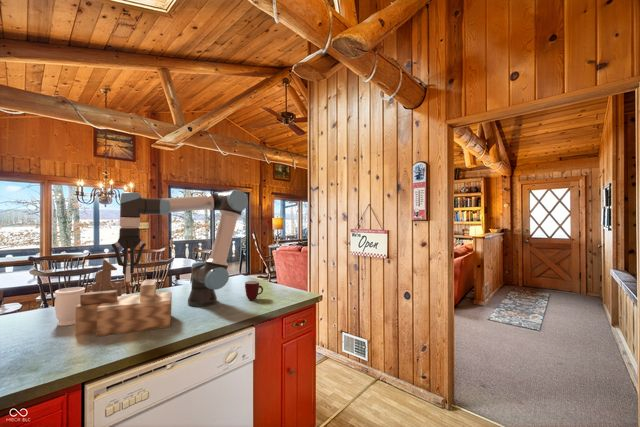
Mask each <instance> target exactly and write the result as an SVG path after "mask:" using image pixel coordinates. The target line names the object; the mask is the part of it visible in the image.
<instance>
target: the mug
mask: <svg viewBox="0 0 640 427" xmlns="http://www.w3.org/2000/svg"><path fill="white" fill-rule="evenodd" d="M244 287H245V288H244V289H245V293H246V294H245V295H246V298H247V299H249V301H254V299H255V300H257V297H258V296H259V295H261V294H263V292H264V287H263V286H261V285H260V282H259V281H257V280H249V281H245V283H244ZM259 289H260V290H261V291H260V290H259ZM259 291H260V292H259Z"/></svg>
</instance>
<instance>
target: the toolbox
mask: <svg viewBox="0 0 640 427" xmlns="http://www.w3.org/2000/svg"><path fill="white" fill-rule="evenodd" d="M172 297H173V295H172V296H171V301H170V304H164V305H155V306H145V307H135V308H125V309H116V310H106V311H97V307H98V306H99V305H100V304H101V303H94V304H84V305H80V304H79V305H78V306H76V324H74V325H75V328H74V330H75V331H74V333H75V334H74V335H75V336H83V335H84V336H85V335H90V334H96V337H102V336H104V337H105V336H112V335H117V334H119V335H120V334H125V333H133V332H134V333H135V332H141V331H149V330H157V329H164V328H170V327H171V319H172Z"/></svg>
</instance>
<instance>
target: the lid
mask: <svg viewBox="0 0 640 427" xmlns="http://www.w3.org/2000/svg"><path fill="white" fill-rule="evenodd" d="M139 290H140V291H139V292H140V293H139V294H134V295H133V294H132V295H123V296H122V295H121V296H119V297H117V300H116V301H115V302H105V303H101V304H100V305H99V306H98V307H97V311H106V310H116V309H125V308H135V307H145V306H155V305H164V304H170V301H171V302H172V300H171V296H172V297H173V295H172V293H173V292H172V291H166V292H157V279H156V278H155V279H144V280H143V281H142V282H141V284H140V289H139Z"/></svg>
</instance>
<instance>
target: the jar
mask: <svg viewBox="0 0 640 427" xmlns="http://www.w3.org/2000/svg"><path fill="white" fill-rule="evenodd" d="M85 291H86V288H85V287H83V286H82V287H81V286H73V287H65V288H60V289H57V290H55V291H54V293H55V295H56V296H55V299H54V311H55V316H56V319H57V321H58V322H57V324H56V325H57V326H59V327H65V326H71V325H75V324H76V306H78V305H79V304H80V295H81V294H82V293H85Z"/></svg>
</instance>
